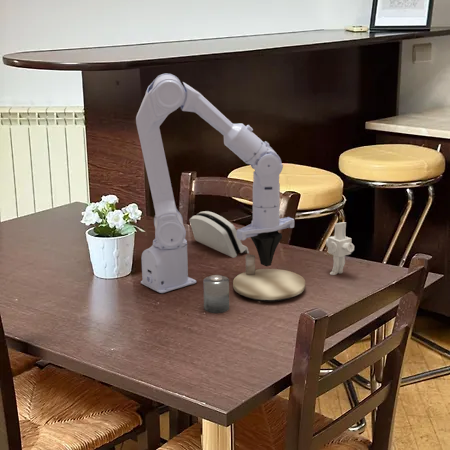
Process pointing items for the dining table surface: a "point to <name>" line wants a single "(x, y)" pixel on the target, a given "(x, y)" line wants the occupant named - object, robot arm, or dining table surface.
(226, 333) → the dining table surface
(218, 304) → the grey short cylinder
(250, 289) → the turntable
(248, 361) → the dining table surface
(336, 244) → the toy robot
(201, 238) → the grey piece
